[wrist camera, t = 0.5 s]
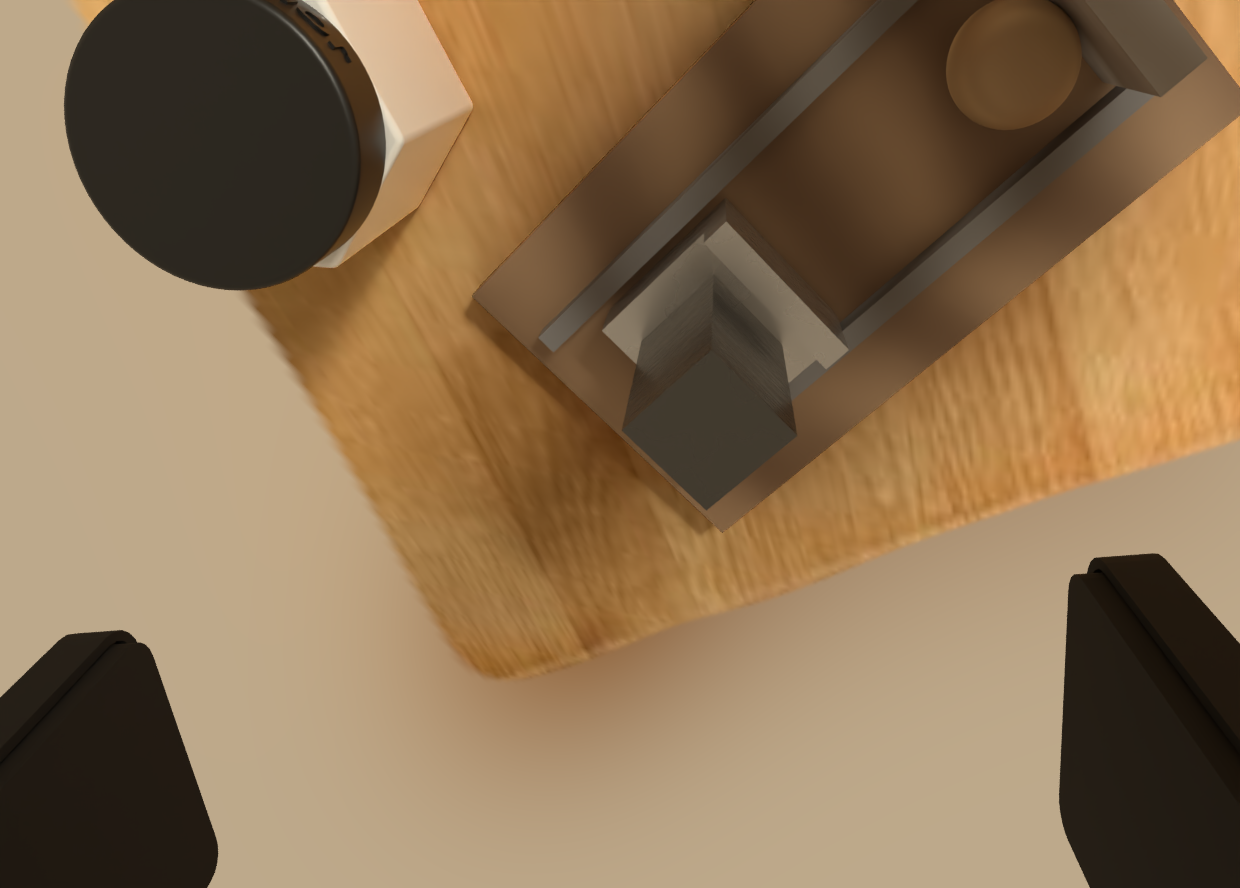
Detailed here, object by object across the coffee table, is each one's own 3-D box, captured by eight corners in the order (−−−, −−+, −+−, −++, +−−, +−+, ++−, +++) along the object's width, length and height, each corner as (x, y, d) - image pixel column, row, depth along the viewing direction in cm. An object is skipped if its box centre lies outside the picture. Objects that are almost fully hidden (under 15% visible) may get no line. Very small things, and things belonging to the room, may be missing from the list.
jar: (473, -17, 36) (366, -17, 25) (475, 215, 39) (381, 304, 29) (226, -31, 37) (16, -37, 26) (249, 199, 40) (72, 280, 29)
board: (977, -232, 32) (1035, -280, 26) (1232, 100, 35) (1335, 123, 29) (479, 285, 41) (438, 337, 35) (722, 515, 44) (722, 598, 38)
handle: (725, 197, 36) (727, 273, 27) (836, 314, 38) (875, 426, 28) (608, 310, 39) (571, 417, 29) (718, 417, 40) (716, 553, 30)
